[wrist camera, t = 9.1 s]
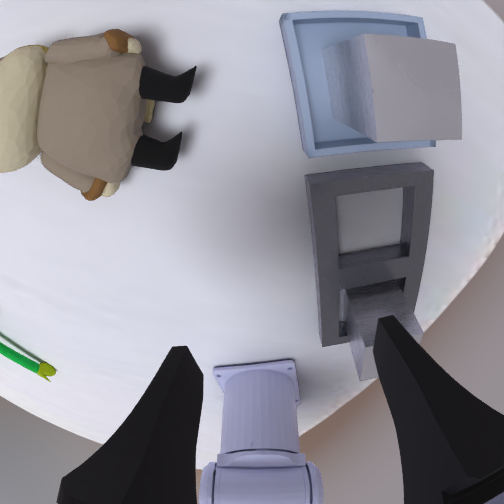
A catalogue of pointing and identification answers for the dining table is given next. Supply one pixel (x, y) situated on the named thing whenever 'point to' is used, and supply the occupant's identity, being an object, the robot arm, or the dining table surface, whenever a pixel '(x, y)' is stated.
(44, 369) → the toy
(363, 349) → the grey rectangular block
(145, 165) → the toy
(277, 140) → the dining table surface
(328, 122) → the tray
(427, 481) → the robot arm
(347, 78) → the light grey block
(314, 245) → the dark grey rectangular frame
